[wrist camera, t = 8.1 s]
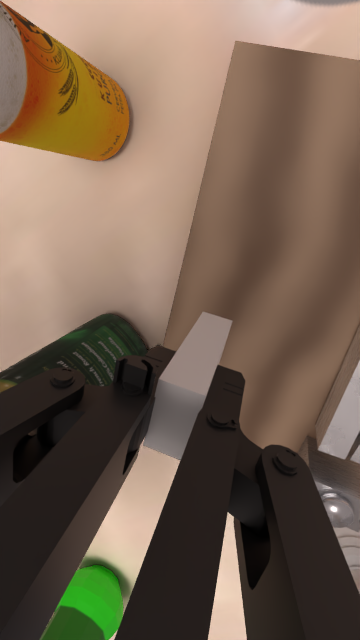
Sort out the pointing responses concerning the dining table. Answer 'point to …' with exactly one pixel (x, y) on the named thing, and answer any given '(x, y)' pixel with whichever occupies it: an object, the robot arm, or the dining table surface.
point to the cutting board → (279, 235)
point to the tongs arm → (342, 407)
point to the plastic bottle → (87, 607)
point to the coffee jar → (81, 352)
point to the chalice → (350, 550)
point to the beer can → (56, 95)
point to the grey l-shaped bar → (336, 482)
